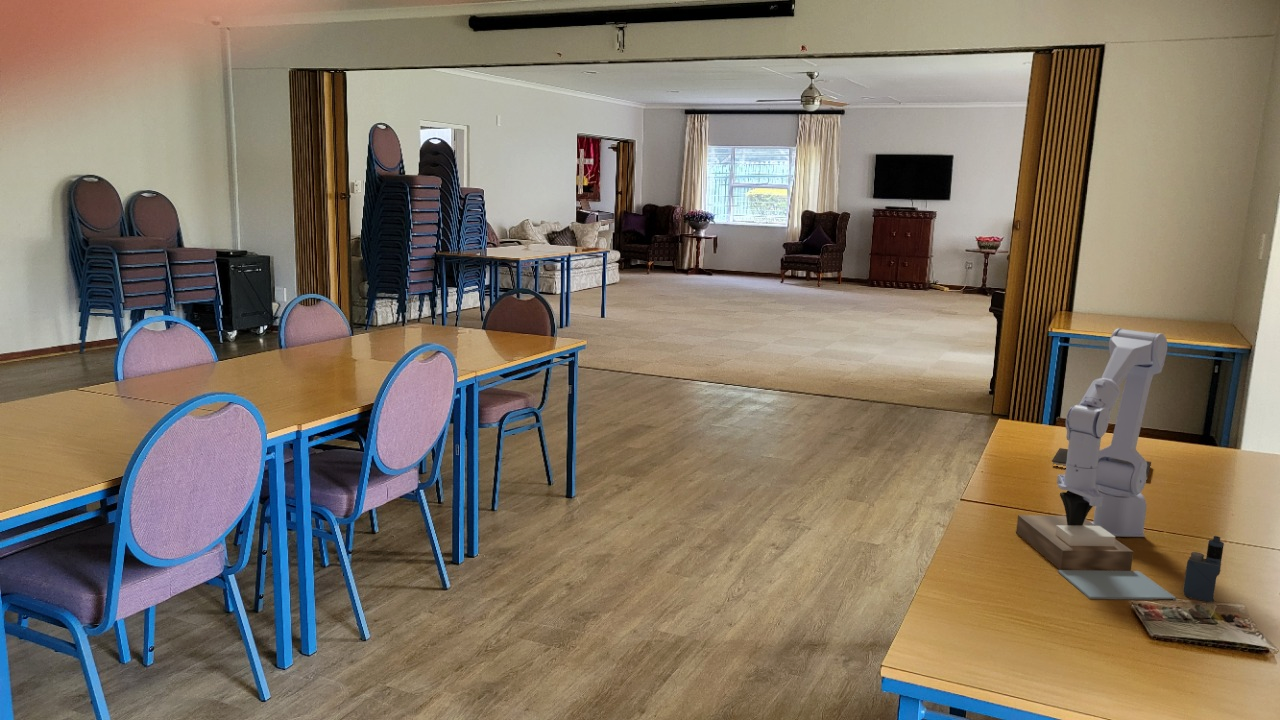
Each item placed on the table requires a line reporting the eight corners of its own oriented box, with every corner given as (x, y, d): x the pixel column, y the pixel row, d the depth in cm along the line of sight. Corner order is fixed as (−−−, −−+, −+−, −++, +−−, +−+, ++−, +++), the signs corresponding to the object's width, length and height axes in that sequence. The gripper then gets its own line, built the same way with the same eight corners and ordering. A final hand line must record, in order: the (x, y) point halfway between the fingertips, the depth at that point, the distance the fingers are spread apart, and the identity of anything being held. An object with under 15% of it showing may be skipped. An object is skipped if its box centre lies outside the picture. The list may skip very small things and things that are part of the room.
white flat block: (1098, 535, 191) (1099, 525, 191) (1114, 546, 185) (1115, 536, 185) (1055, 534, 191) (1056, 525, 190) (1069, 545, 185) (1070, 536, 184)
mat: (1138, 573, 183) (1138, 571, 182) (1175, 599, 171) (1176, 597, 171) (1058, 572, 182) (1058, 570, 182) (1089, 598, 170) (1089, 596, 170)
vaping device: (1215, 603, 170) (1225, 540, 167) (1182, 596, 172) (1191, 534, 170) (1215, 598, 172) (1225, 536, 170) (1182, 591, 174) (1191, 530, 172)
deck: (1079, 533, 203) (1081, 516, 202) (1130, 570, 183) (1133, 551, 183) (1016, 532, 202) (1018, 515, 202) (1060, 570, 183) (1062, 550, 182)
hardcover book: (1146, 484, 242) (1148, 475, 242) (1050, 468, 254) (1051, 460, 253) (1150, 469, 256) (1151, 461, 255) (1059, 455, 267) (1059, 447, 267)
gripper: (1045, 454, 196) (1038, 516, 199) (1080, 475, 182) (1072, 541, 184) (1078, 454, 196) (1071, 516, 199) (1115, 475, 182) (1107, 542, 185)
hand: (1074, 528), depth 192 cm, fingers closed
